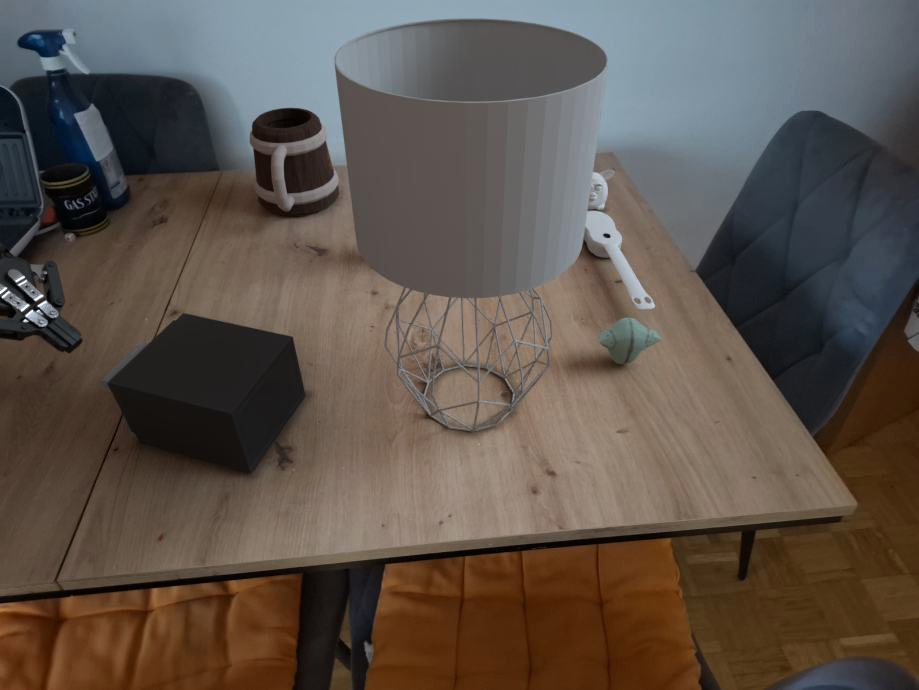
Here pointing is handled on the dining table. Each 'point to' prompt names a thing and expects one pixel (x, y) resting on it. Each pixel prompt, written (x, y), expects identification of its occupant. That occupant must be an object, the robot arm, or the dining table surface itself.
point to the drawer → (123, 364)
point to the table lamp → (470, 166)
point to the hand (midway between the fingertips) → (76, 347)
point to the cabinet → (212, 391)
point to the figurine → (599, 189)
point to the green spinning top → (627, 340)
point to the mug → (292, 163)
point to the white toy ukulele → (613, 254)
